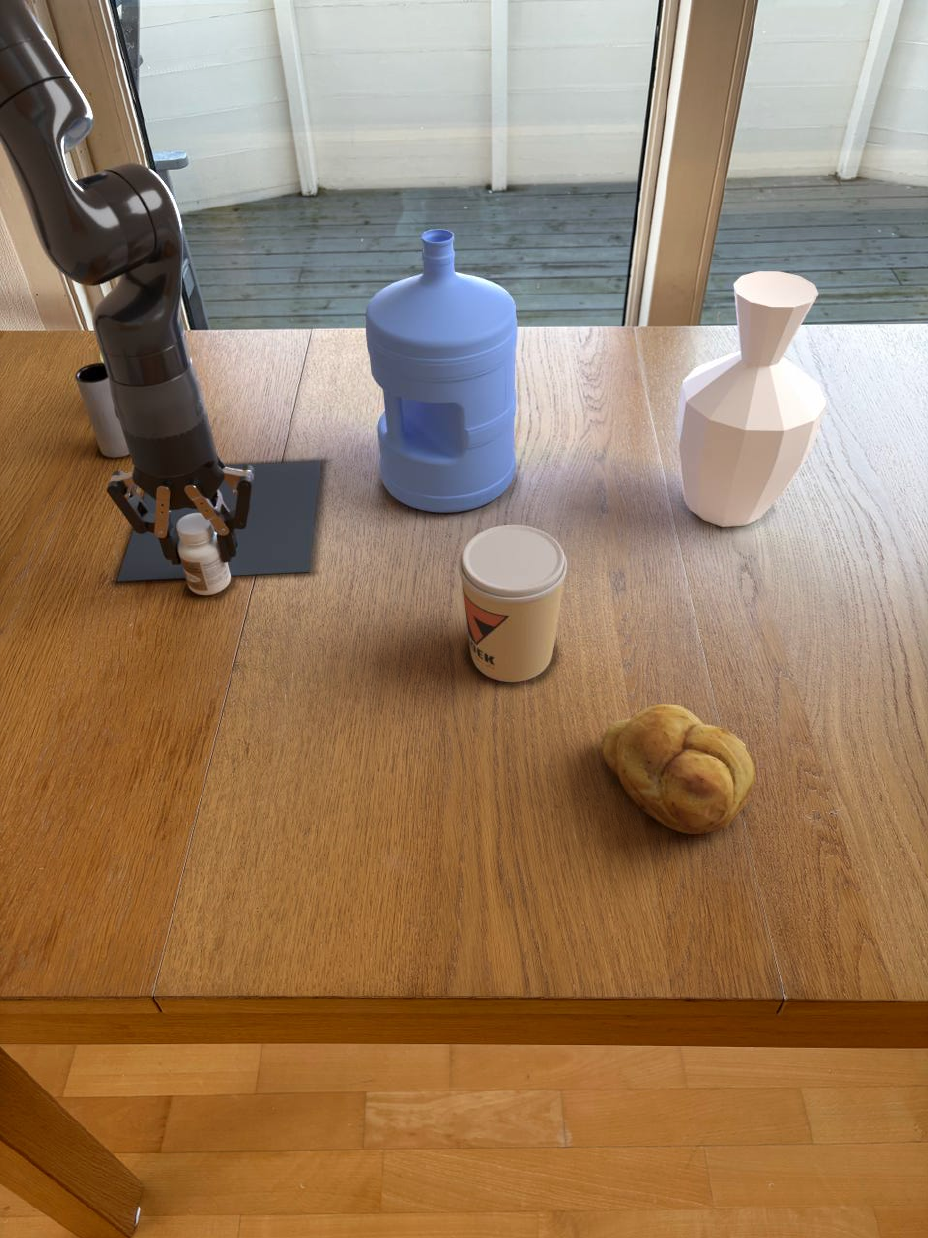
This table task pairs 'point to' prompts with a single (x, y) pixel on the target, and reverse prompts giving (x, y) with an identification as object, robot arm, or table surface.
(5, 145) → the robot arm
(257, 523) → the mat
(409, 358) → the water jug
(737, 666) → the table surface
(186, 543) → the pill bottle
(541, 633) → the coffee cup
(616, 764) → the bread roll
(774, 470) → the vase
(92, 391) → the white cylinder
